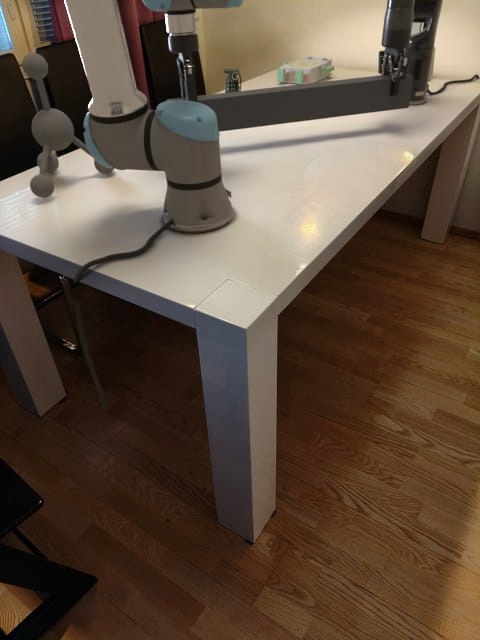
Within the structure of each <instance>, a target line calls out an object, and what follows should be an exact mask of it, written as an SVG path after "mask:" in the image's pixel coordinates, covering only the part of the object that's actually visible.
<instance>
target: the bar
mask: <svg viewBox="0 0 480 640" xmlns="http://www.w3.org/2000/svg"><path fill="white" fill-rule="evenodd" d="M401 75H402V73H401ZM395 76H396V73H395ZM413 78H414V76H413V75H410V74H407V73H406V77H405V80H402V81H400V83H399V90H398V95H397V96H390V88H391V82H392V76H391V74H388V75H381V74H378V75H372V76H370V75H369V76H363V77H361V76H360V77H353V78H346V79H345V78H344V79H336V80H326V81H317V82H315V83H308V84H292V85H291V84H289V85H282V86H274V87H265V88H256V89H246V90H241V91H240V90H239V91H237V92H228V93H225V92H221V93H211V94H203V95H197V101H198V103H201V104H204V105H206V106H208V107H209V108H211V109H212V110H213V111H214V112H215V114H216V117H217V124H218V130H219V133H221V132H228V131H237V130H245V129H251V128H252V129H253V128H261V127H267V126H276V125H284V124H291V123H299V122H307V121H317V120H324V119H332V118H341V117H348V116H354V115H355V116H356V115H363V114H371V113H379V112H380V113H381V112H389V111H394V110H404V109H409V108H410V105H409V103H410V97H411V90H412V84H413ZM177 100H185V101H186V97H184V98H182V97H176V98H168V99H166V101H177Z"/></svg>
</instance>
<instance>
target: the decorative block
mask: <svg viewBox="0 0 480 640" xmlns="http://www.w3.org/2000/svg"><path fill="white" fill-rule="evenodd" d="M335 67H336V66H335V65H333V58H327V57H322V58H320V57H312V56H308V57H306V58H303V59H297V60H295V61H292V62H287V61H286V62H282V65H281V66H279V68H277V71H276V72H277V77H276V78H277V80H276V81H277V82H279V83H288V84H295V85H299V84H308V83H317V82H321V81H322V80H324V79H326V78H328V77H329V76H330V75H331V74H332V72H333V71H335Z"/></svg>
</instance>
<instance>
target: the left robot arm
mask: <svg viewBox="0 0 480 640" xmlns="http://www.w3.org/2000/svg"><path fill="white" fill-rule="evenodd" d="M63 1H64V4H65V7H66V11H67V14H68V18H69V21H70V24H71V28H72V31H73V34H74V38H75V42H76V45H77V48H78V52H79V55H80V58H81V62H82V65H83V69H84V72H85V75H86V79H87V83H88V86H89V89H90V93H91V96H92V98H91V100H90V102H89V104H88V106H87V110H88V112H87V113H86V114H85V117H84V120H83V128H84V130H85V131H83V137H84V142H85V145H86V146H87V148H88V150H89V152H90V154H91V156H92V157H91V156H90V157H91V158H93V161H94V160H95V161H96V162H97V163H98V164H100V165H102V166H104V167H106V168H114V170H118V171H125V170H127V171H128V170H131V171H149V172H151V171H153V172H164V174H165V180H166V190H165V191H166V192H165V196H164V203H163V207H162V218H163V222H164V225H162V226H161V227H160V228H159V229H157V230H156V231H155V232H154V233H153V234H152V235H150V237H149V238H148V239H147V240H146V243H145V244H144V245H143V246H142V247H140V248H138V249H136V250H131V251H126V252H118V253H112V254H108V255H106V256H105V255H104V256H102V257H99V258H95V259H92V260H90V261H88V262H87V263H85V264H83V265H82V266H81V267H80V268H79V269H78V270H77V272H76V274H75V276H74V278H73V280H72V281H73V283H78V282H79V281H80V280H81V279H82V277H83V275H84V274H85V272H86V271H87V270H88V269H91V268H92V267H94V266H97V265H100V264H104V263H107V262H109V261H112V260H117V259H125V258H132V257H137V256H139V255H142V254H143V253H145V252H146V251H148V250H149V248H150V247H151V245H152V244H153V242H154V241H155V240H156V239H157V238H158V237H159V236H160V235H162V234H163V233H164V232H165V231H166V230H167V229H171V230H173V231H177V232H180V233H190V234H191V233H192V234H193V233H194V234H195V233H196V234H197V233H205V232H206V233H207V232H210V231H215V230H216V229H220V228H222V227H224V226H226V225H227V224H228V223H230V221H231V220H232V218H233V216H234V212H233V211H234V210H233V205H232V201H231V200H230V198H231V199H232V191H230V190H229V189H227V188H226V187H225V184H224V182H223V175H222V174H223V173H222V161H221V159H222V158H221V147H220V146H221V145H220V136H221V135H220V132H219V130H218V124H217V117H216V114H215V112H214V111H213V110H212V109H211V108H209V107H208V106H206V105H204V104H201V103H198V101H197V96H198V91H197V82H196V80H197V79H196V65H195V64H196V63H195V59H193V57H192V53H195V52H198V51H199V50H200V43H199V35H198V33H196V32H197V31H198V23H197V22H199V21H200V18H199V16H198V15H197V9H199V10H200V9H201V10H202V9H203V10H204V9H205V10H206V9H224V10H225V9H226V10H228V9H229V8H240V7H241V6H243V4H244V2H245V0H141V1H142V3H143V5H144V6H145V7H146V8H148V9H149V10H150V11H152V12H156V13H157V12H158V13H160V12H164V17H165V27H166V32H167V34H169V35H168V36H167V42H168V50H169V52H170V53H171V54H178V57H177V59H176V64H177V67H178V76H179V84H180V92H181V93H180V94H181V97H180V98H184V97H186V101H185V100H177V101H167V100H166V101H163V102H160V103H159V104H158V105H157V106H156V109H150V106H149V102H148V97H147V96H146V94H144V93H143V92H142V91H140V90H139V89H138V87H137V83H136V79H135V74H134V70H133V65H132V60H131V56H130V53H129V47H128V43H127V39H126V35H125V29H124V25H123V22H122V17H121V13H120V12H121V11H120V8H119V4H118V0H63ZM73 304H74V311H75V313H74V314H75V318H76V326H77V331H78V335H79V340H80V343H81V348H82V351H83V355H84V358H85V360H86V363H87V366H88V369H89V371H90V372H89V373H90V374H91V377H92V380H93V383H94V385H95V389H96V391H97V394H98V397H99V400H100V403H101V406H102V410H103V411H107V410H108V404H107V402H106V398H105V395H104V391H103V389H102V386H101V385H102V384H101V383H100V380H99V377H98V374H97V372H96V369H95V366H94V362H93V360H92V357H91V354H90V351H89V347H88V343H87V340H86V336H85V330H84V324H83V320H82V319H83V318H82V311H81V303H80V301H78V300H75V299H74V300H73Z"/></svg>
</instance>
